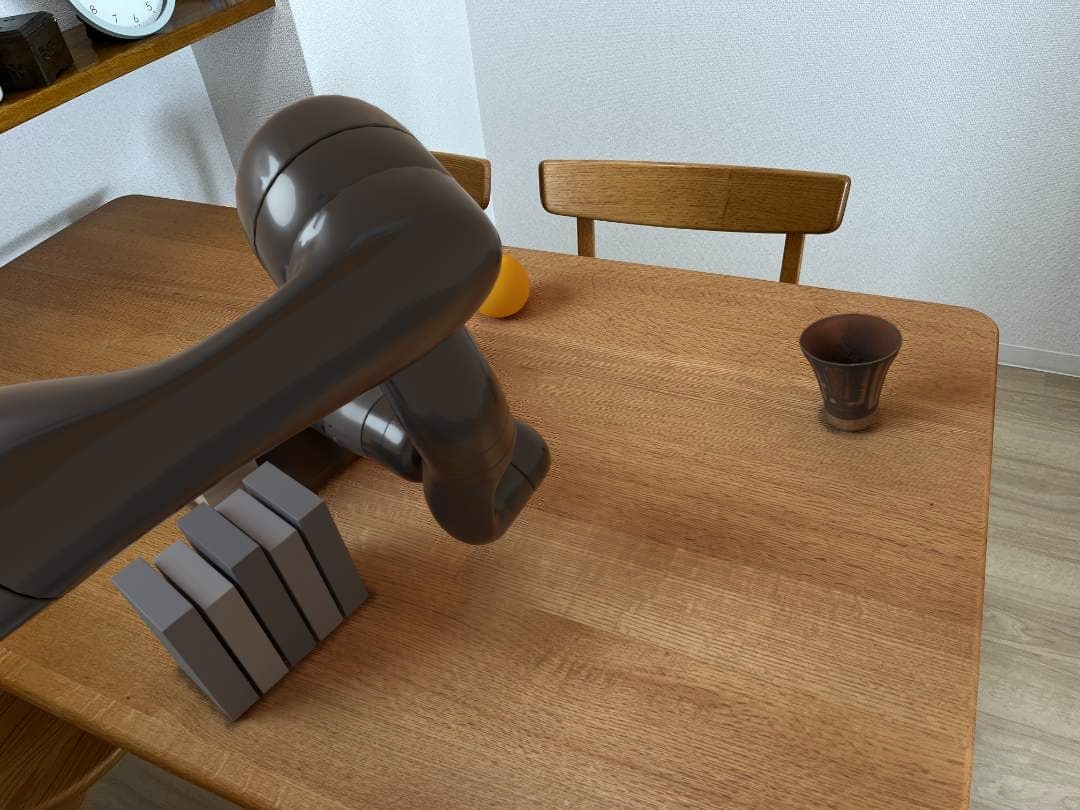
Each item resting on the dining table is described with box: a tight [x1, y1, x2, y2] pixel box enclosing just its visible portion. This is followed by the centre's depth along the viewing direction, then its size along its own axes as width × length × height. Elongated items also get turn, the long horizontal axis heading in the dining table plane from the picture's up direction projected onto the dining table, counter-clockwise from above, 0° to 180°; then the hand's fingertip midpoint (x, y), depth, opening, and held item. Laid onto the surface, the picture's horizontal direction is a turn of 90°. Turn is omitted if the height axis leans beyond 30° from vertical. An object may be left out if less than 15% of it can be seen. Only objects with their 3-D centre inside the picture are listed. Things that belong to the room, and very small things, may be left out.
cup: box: [798, 312, 903, 432], centre depth 78 cm, size 9×9×10 cm
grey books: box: [109, 461, 370, 722], centre depth 66 cm, size 15×8×14 cm, turn 140°
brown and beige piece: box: [190, 426, 361, 511], centre depth 85 cm, size 26×14×12 cm, turn 140°
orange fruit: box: [477, 253, 531, 318], centre depth 101 cm, size 8×8×8 cm
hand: (258, 352), depth 83 cm, fingers closed on supplement box, 6 cm apart
